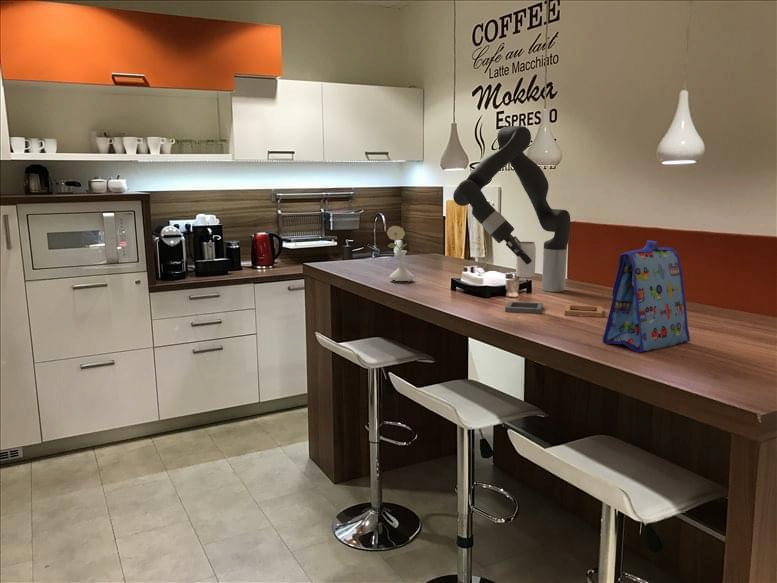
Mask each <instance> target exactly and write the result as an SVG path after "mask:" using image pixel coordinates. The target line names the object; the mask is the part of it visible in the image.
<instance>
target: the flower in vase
mask: <svg viewBox="0 0 777 583" xmlns="http://www.w3.org/2000/svg"><path fill="white" fill-rule="evenodd" d="M386 234H387V236H388V238H389V239H390V240H393V241H395V243H394V242H390V243H389V244H387V248H390V249H391V248H392V249H394V248H396V247H397V248H398V250H396V251H395V252H396V253H397V256H398V268H397V269H395V270H394V271H393V272H392V273H390V275H389V276H388V279H389V280H390V279H391V280H390V281H392V280H396V281H408V282H412V281H413V280H414V279H415V277H414V275H413V274H412V273H411V272H410V271H409V270H408V269H407V268H406V266H405V258H406V257H405V256H406V254H407V253H408V250H404V249H403V248H404V247H406V246H407V245H408V243H405V244H402V245H400V246H399V245H398V244H397V241H400V240H403V239H404V237H405V236H406V232H405V230H404V228H403V227H401V226H400V225H398V226H397V225H392V226H390V227H389V228H388V229H387V232H386ZM401 249H403V250H401ZM411 280H412V281H411Z"/></svg>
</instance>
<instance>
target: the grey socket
mask: <svg viewBox="0 0 777 583" xmlns="http://www.w3.org/2000/svg"><path fill="white" fill-rule="evenodd" d="M535 307H537V308H535ZM543 308H544V303H543V302H533V301H532V302H531V301H530V302H529V301H527V302H526V301H514V300H513V301H512V300H509V301H508V302H507V303H506V306H505V308H504V311H505V312H507V313H510V312H511V313H520V312H523V313H524V314H526V313H527V314H538V313H541V314H542V310H543Z"/></svg>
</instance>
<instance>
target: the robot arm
mask: <svg viewBox="0 0 777 583" xmlns="http://www.w3.org/2000/svg"><path fill="white" fill-rule="evenodd" d="M496 137H497V140H496V141H497V144H498V146H499V150H497V151H495V152H494V153H492V154H491V155H489V156H487V157H486V158H484V159H483V160H482V161H480V162H479V163H478V164H477V166H475V167H474V168H473V169H472V171H471V172H470V173H469V175H468V176H467V178H465V179H464V180H462V181H460V182H459V184H458V186H456V188H455V189H454V191H453V194H452V196H453V197H452V198H453V201H454V203H455V204H456V205H457V206H461V207H465V206H468V205H470V206H471V208H472V210H471V215H472V216H473V217H474V219H476V221H478V223H480V224H481V226H482V227H483V229H484V230H485V231H486V232H487V233H488V234H489V235H490V236H491V237H492V239H494V241H496V243H498V244H500V243H502V242H503V241H504V242H505V246H506V247H507V248H509V249H510V251H511V252H512V253H513V254H514V255H515V257H517V256H518V257H520V258H521V259H522V260H523V261H524V262H525V263H526V264H529V263H530V262H531V261H532V259H531V258H530V257H529V256H528V255H527V254H526V253H525V252H524V250H522V249H521V245H520V244H519V242H521V241H520V239H519V238H518V237H517V236H516V235H514V236H513V234H512V233H513V232H514V231H515V228H514V227H513V225H512V224H511V223H510V222H509V221H508V220H507V219H506V218H505V217H504V216H503V215H502V214H501V213H500V212H498V210H496V209H495V208H494V207H493V205H491V203H490V202H489V201H488V200H487V198H486V196H485V195H484V193H483V191H482V189H483V188H484V187H485V186H487V185H488V184H489V183H490V181H492V179H493V178H494V177H495V176H496V175H497V174H498V173H499V172H500V171H501V170H502V169H503V168H505V167H506V166H507V165H508V164H510V165H511V167H512V168H513V170H514V172H515V173H516V176H517V177H518V179H519V182H520V184H521V186H522V187H523V189H524V192H525V193H526V194H527V197H528V199H529V200H530V203H531V204H532V207H533V209H534V212H535V214H536V216H537V219H538V221H539V224H540V226H541V228H542V229H543V230H544V231H545V232H549V233H554V235H553V237H552V238H551V239H549V240H545V241H544V242H543V252H542V254H543V257H542V258H543V259H542V278H541V282H542V283H541V290H542V291H544V292H551V293H552V292H553V293H560V292H561V291H562V292H565V290H566V276H567V275H566V274H567V273H566V272H567V253H568V250H567V248H568V244H569V239H570V233H571V232H570V231H571V214H570V213H569V211H568V210H566V209H559V208H552V207H550V205H549V203H548V200H547V197H548V191H549V182H548V179H547V177H546V175H545V172H544V171H543V170H542V168H541V167H540V166H539V165H538V164H537V163H536V162H534V161H533V160H532V159H531V158H529V157H528V156H527V155H526V154H525V153H524V152H525V151H526V150H527V149H528V148H529V146H530V144H531V142H532V133H531V130H529V128H528V127H526V126H524V125H516V126H515V125H513V126H512V125H511V126H504V127H502V128H500V129H499V130H498V132H497V136H496Z"/></svg>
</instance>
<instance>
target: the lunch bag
mask: <svg viewBox="0 0 777 583" xmlns="http://www.w3.org/2000/svg"><path fill="white" fill-rule="evenodd" d="M658 246H659V244H658V241H654V240H649V239H648V240H647V241H646V244H645V246H644V247H643V248H639V249H636V250H634V249H633V250H629V251H626V252H624V253H621V254H620V255H619V259H618V267H617V270H616V271H617V272H616V275H615V276H616V277H615V280H614V283H613V287H612V293H611V294H612V300H611V305H610V308H609V312H608V317H607V321H606V325H605V329H604V332H603V336H602V343H603V344H604V345H610V344H611V345H612V344H613V345H615V344H617V345H624V346H626V347H628V348H629V349H631V350H633V351H635V352H636V353H643V352H648V351H652V350H658V349H662V348H667V347H672V346H675V345H680V344H683V343H684V344H685V343H688V342H690V340H691V336H690V331H689V326H688V325H689V324H688V312H687V304H686V294H685V287H684V277H683V275H684V274H683V268H682V263H681V260H680V256H679V253H678V251H677V250H675V248H672V247H669V246H663V247H658Z"/></svg>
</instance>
